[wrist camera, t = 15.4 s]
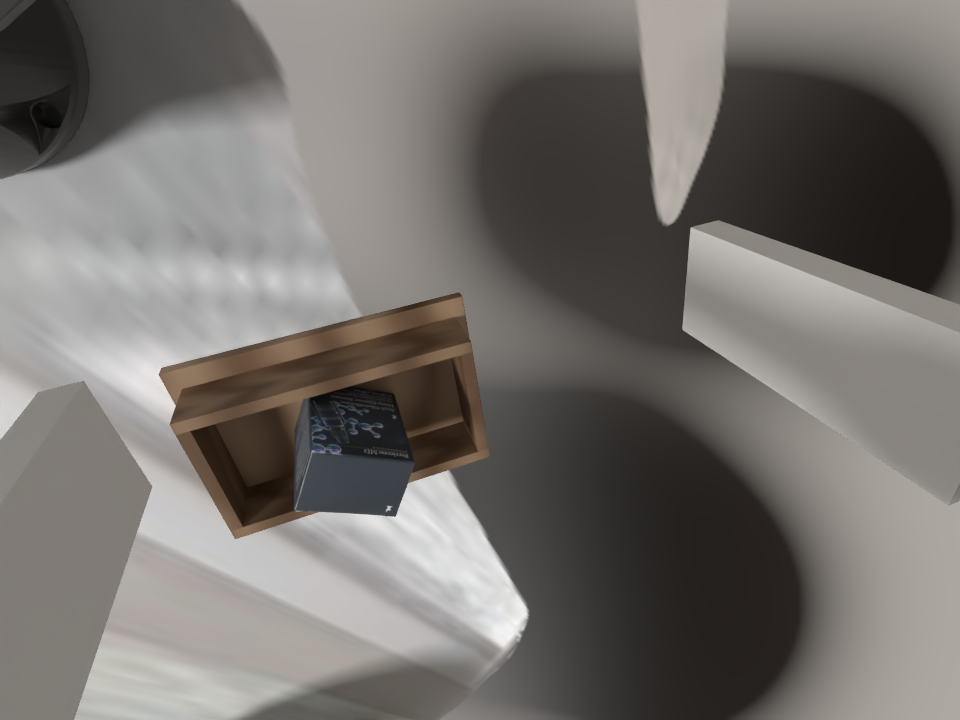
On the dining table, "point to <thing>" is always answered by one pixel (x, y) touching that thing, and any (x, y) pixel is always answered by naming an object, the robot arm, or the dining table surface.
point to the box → (351, 453)
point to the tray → (317, 370)
